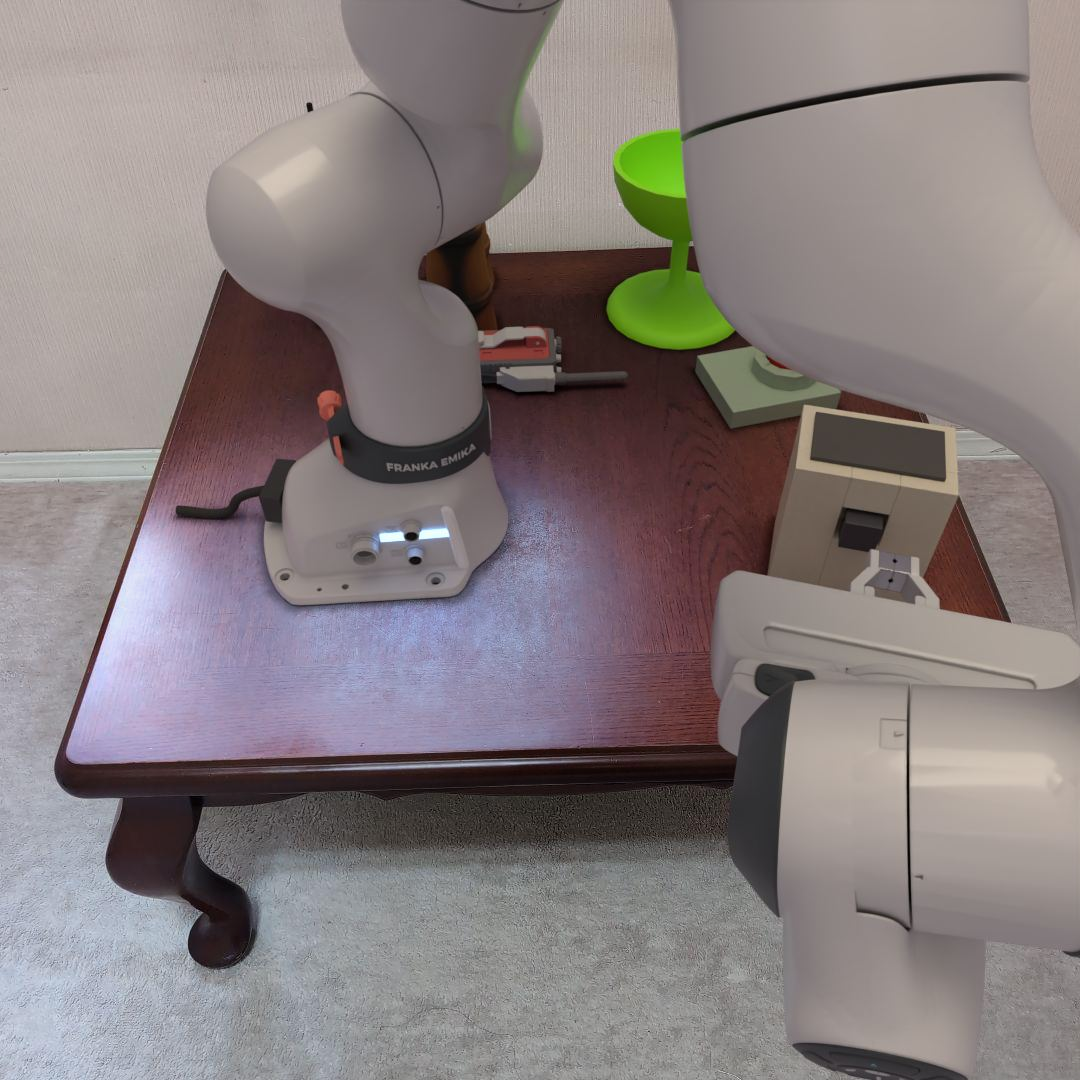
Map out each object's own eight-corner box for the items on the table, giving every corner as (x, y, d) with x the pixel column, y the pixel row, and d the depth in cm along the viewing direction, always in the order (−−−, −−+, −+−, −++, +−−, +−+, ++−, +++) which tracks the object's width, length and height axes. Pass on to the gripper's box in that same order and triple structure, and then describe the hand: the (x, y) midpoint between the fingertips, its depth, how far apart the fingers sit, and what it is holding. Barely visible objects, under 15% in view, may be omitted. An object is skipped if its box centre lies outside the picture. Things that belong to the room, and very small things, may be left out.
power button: (837, 547, 76) (845, 522, 74) (839, 529, 77) (846, 505, 75) (873, 553, 75) (882, 529, 73) (874, 535, 77) (883, 511, 75)
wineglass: (589, 284, 116) (593, 139, 103) (710, 265, 119) (730, 120, 106) (631, 359, 106) (642, 208, 93) (764, 336, 108) (793, 186, 95)
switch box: (730, 429, 97) (735, 398, 95) (694, 372, 104) (698, 341, 101) (836, 408, 99) (845, 378, 97) (795, 354, 106) (802, 323, 103)
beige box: (765, 585, 83) (796, 464, 73) (774, 522, 88) (804, 400, 78) (907, 612, 81) (960, 491, 70) (908, 546, 86) (957, 423, 76)
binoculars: (428, 265, 120) (411, 103, 105) (493, 262, 120) (485, 101, 105) (425, 351, 107) (405, 181, 93) (498, 347, 108) (490, 178, 93)
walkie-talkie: (441, 399, 101) (628, 392, 102) (438, 365, 98) (630, 358, 99) (443, 350, 107) (619, 343, 108) (439, 317, 104) (621, 310, 105)
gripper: (1125, 765, 46) (1091, 558, 55) (702, 674, 49) (736, 494, 58) (1072, 825, 50) (1049, 625, 59) (689, 738, 54) (722, 562, 63)
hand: (891, 559), depth 59 cm, fingers closed
